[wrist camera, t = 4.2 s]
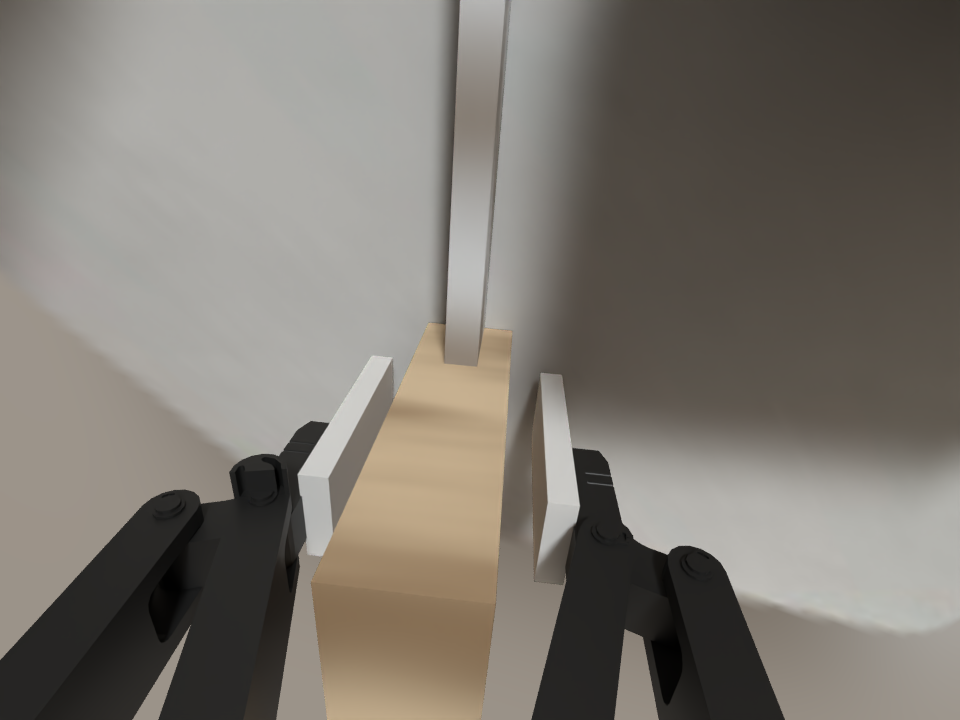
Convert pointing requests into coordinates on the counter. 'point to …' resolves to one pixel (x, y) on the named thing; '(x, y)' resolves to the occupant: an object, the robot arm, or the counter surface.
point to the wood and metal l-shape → (432, 464)
